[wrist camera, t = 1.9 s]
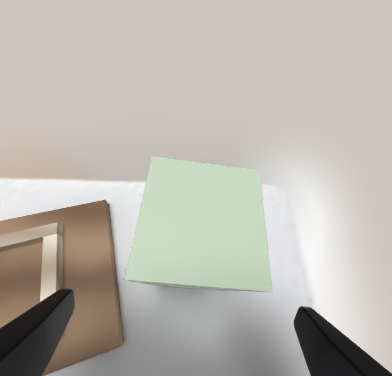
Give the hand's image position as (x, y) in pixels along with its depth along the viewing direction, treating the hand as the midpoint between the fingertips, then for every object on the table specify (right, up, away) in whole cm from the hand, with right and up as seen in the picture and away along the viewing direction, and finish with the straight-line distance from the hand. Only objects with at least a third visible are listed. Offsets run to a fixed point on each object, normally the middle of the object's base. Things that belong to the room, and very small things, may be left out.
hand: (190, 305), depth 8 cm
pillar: (-1, -2, +11) cm, 11 cm away
